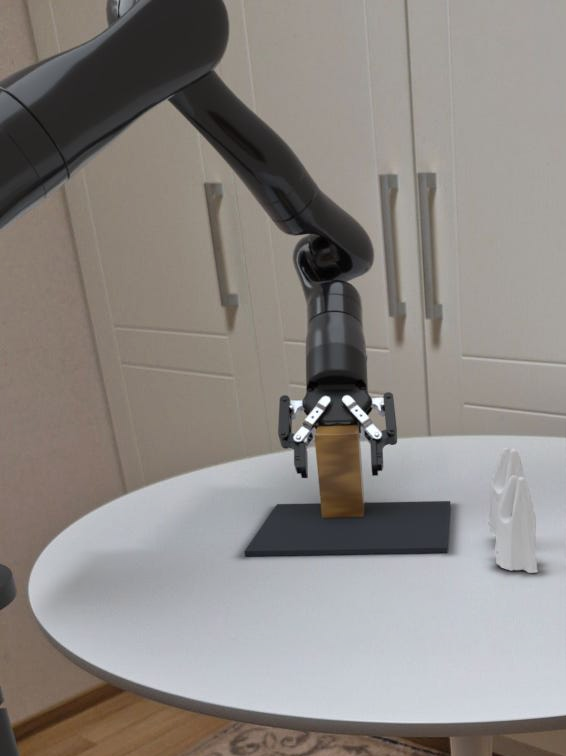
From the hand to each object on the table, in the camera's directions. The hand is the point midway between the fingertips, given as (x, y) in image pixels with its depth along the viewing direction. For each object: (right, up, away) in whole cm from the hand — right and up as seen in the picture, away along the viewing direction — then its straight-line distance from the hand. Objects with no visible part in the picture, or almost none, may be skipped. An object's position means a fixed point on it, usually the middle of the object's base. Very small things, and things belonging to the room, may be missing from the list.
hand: (339, 473), depth 105 cm
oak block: (0, -4, +3) cm, 5 cm away
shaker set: (+20, -11, -10) cm, 25 cm away
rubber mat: (+2, -7, -1) cm, 7 cm away
